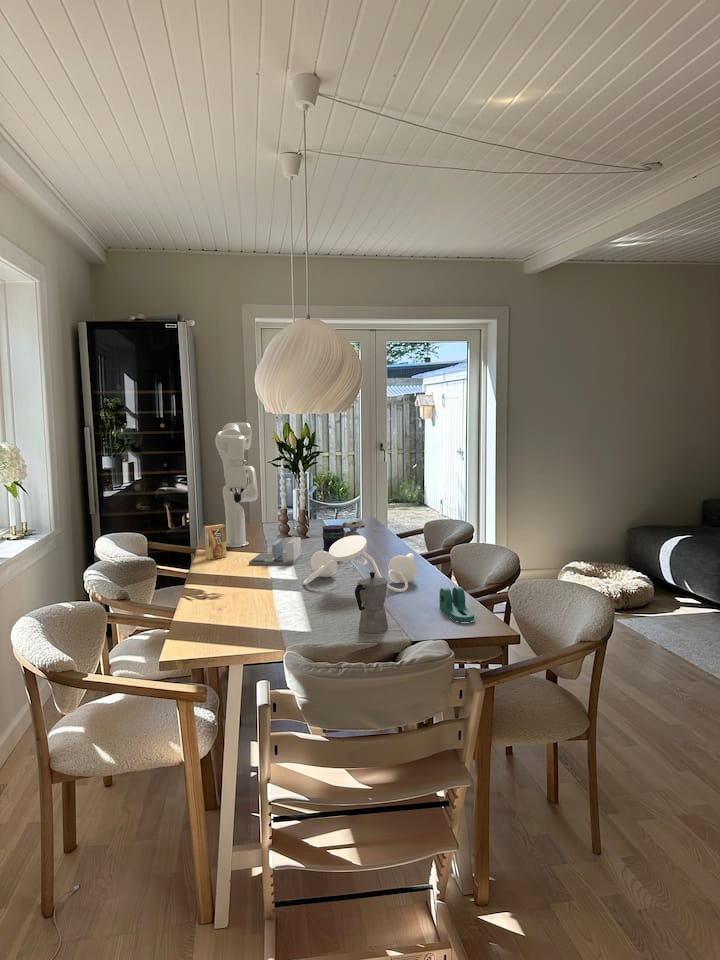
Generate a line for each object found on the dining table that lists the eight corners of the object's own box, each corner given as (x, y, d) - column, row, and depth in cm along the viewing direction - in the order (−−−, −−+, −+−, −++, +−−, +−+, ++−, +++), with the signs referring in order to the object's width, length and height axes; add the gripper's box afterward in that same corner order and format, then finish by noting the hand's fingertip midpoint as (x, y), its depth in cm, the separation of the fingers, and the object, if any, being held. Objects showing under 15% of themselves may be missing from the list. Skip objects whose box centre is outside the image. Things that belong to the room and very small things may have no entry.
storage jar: (333, 562, 304) (332, 529, 302) (318, 559, 310) (317, 527, 309) (349, 558, 311) (348, 526, 309) (334, 556, 317) (333, 524, 316)
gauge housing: (260, 556, 320) (259, 536, 319) (302, 556, 318) (301, 536, 317) (249, 565, 303) (248, 544, 302) (293, 565, 300) (292, 544, 299)
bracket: (439, 608, 232) (439, 586, 231) (458, 607, 233) (458, 584, 233) (457, 624, 215) (456, 600, 214) (477, 623, 216) (477, 598, 215)
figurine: (368, 552, 323) (367, 521, 321) (344, 554, 321) (344, 522, 319) (364, 548, 332) (363, 518, 330) (341, 550, 330) (340, 519, 328)
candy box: (222, 555, 323) (221, 524, 322) (227, 557, 320) (225, 525, 318) (205, 558, 318) (204, 526, 316) (209, 560, 314) (208, 527, 313)
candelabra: (397, 560, 239) (423, 521, 272) (281, 554, 255) (320, 518, 288) (402, 612, 245) (427, 567, 278) (289, 603, 261) (325, 562, 294)
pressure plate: (279, 553, 316) (278, 539, 315) (282, 553, 316) (282, 539, 315) (271, 560, 302) (270, 545, 301) (274, 560, 301) (274, 545, 301)
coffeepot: (373, 620, 220) (372, 565, 218) (397, 625, 214) (396, 569, 212) (344, 634, 208) (342, 576, 206) (369, 639, 202) (368, 580, 200)
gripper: (254, 462, 319) (255, 500, 322) (223, 462, 321) (224, 500, 324) (249, 464, 312) (251, 503, 315) (218, 464, 314) (219, 503, 316)
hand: (237, 502), depth 319 cm, fingers closed
